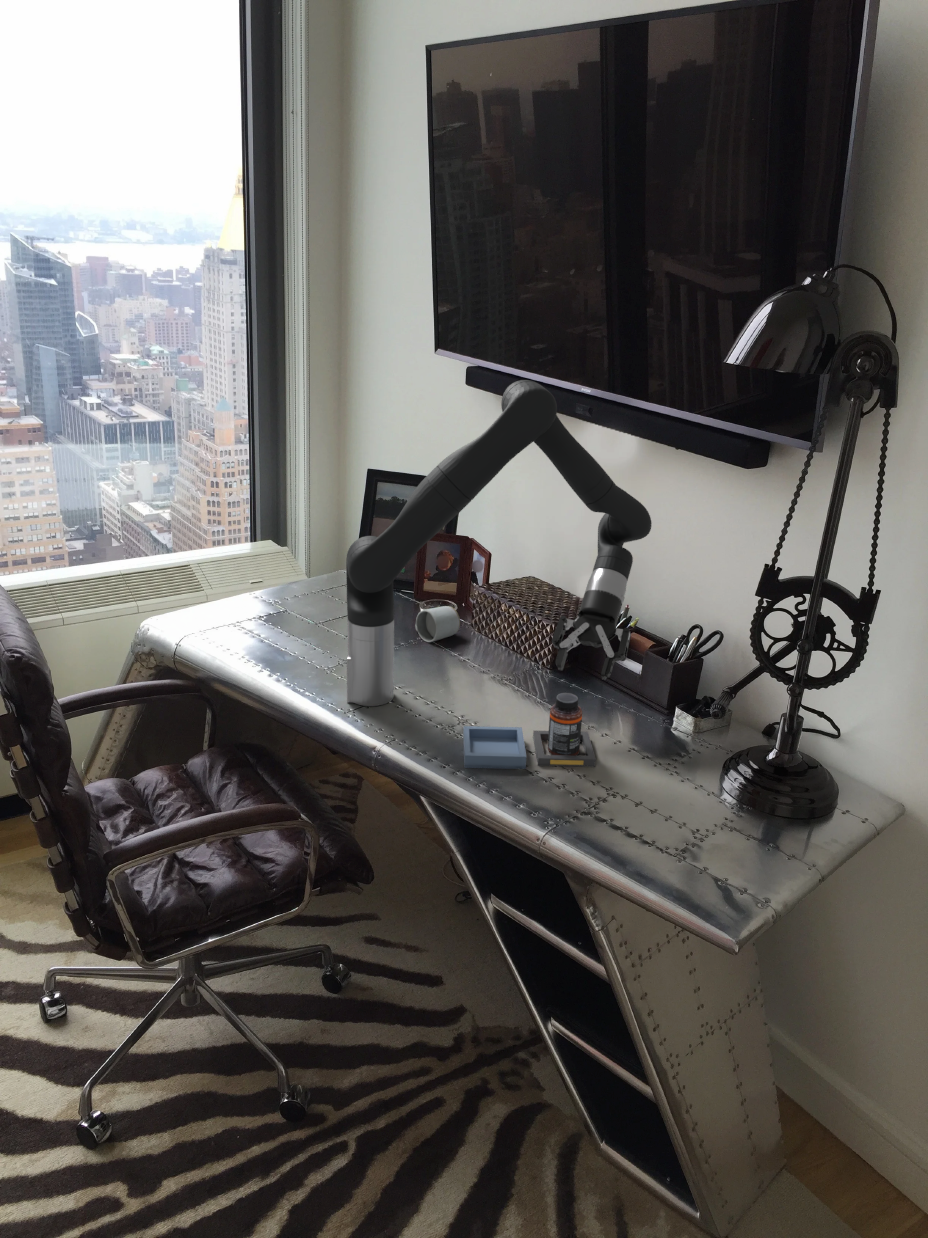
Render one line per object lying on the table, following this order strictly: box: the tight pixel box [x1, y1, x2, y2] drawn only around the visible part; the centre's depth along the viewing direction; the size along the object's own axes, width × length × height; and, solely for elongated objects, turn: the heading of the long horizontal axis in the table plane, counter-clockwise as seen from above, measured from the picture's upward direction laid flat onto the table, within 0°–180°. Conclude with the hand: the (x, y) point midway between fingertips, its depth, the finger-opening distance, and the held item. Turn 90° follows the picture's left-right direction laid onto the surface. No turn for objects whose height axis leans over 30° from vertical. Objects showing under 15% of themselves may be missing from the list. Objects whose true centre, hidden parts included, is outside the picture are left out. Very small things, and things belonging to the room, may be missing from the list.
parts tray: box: [462, 725, 527, 770], centre depth 182 cm, size 11×11×2 cm
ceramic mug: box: [414, 605, 461, 643], centre depth 232 cm, size 11×8×8 cm
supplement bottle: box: [547, 692, 583, 756], centre depth 182 cm, size 6×6×11 cm
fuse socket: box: [532, 730, 597, 768], centre depth 184 cm, size 10×10×2 cm
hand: (581, 673), depth 186 cm, fingers open, 8 cm apart
